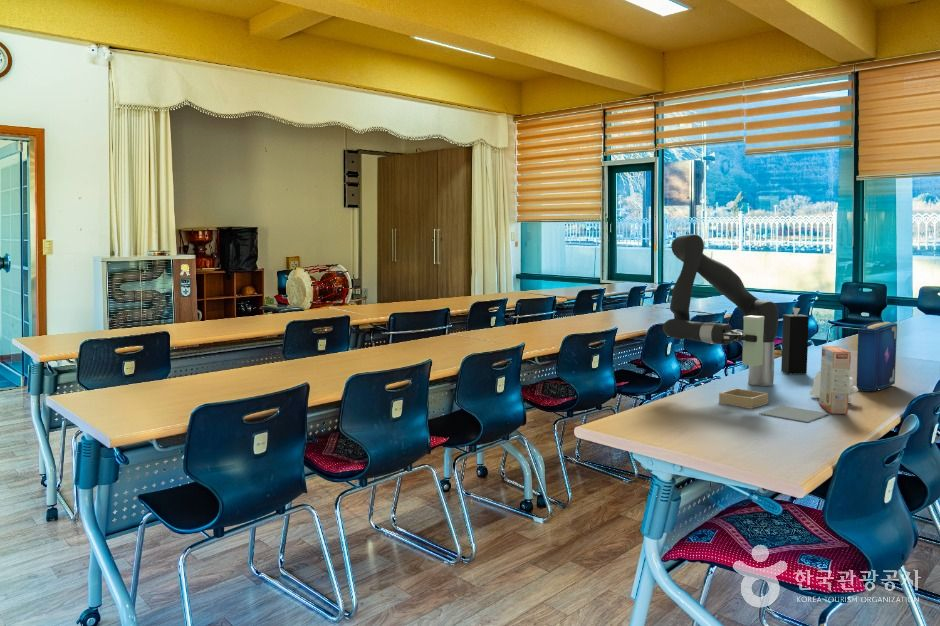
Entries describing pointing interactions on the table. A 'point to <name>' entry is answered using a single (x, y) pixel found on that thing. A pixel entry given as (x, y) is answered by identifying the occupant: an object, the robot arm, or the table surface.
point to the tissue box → (795, 343)
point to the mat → (794, 414)
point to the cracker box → (835, 379)
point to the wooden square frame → (743, 398)
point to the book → (876, 356)
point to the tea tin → (753, 349)
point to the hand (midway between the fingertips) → (760, 338)
